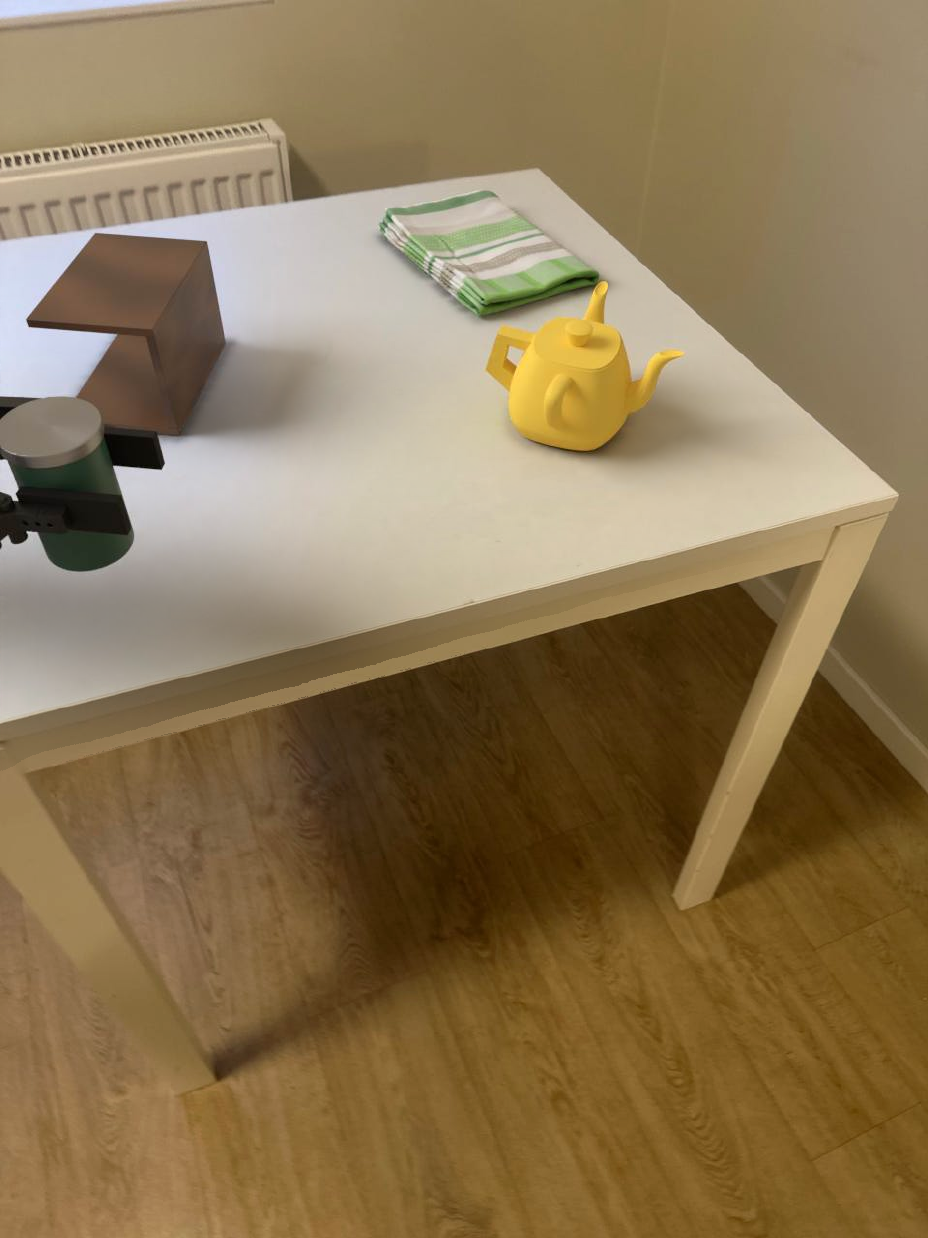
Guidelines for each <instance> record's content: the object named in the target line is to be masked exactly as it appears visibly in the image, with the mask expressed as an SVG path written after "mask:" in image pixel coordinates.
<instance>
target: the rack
mask: <svg viewBox="0 0 928 1238" xmlns="http://www.w3.org/2000/svg"><path fill="white" fill-rule="evenodd" d="M210 255H211V254H210V248H209V245H208V241H207V240H199V239H198V240H197V239H186V238H185V239H183V238H173V237H172V238H170V237H158V236H143V235H130V234H129V235H128V234H116V233H104V232H103V233H102V232H95V233H93V235H92V236H91V237H90V239H89V240H88V241H87V243H86V244H85V245H84V246H83V247H82V249H80V250H79V252H78V254H77V255H76V256H75V257H74V258H73V260H72V261H71V262H70V264H69V265H68V266H67V267H66V269H65V270H64V271H63V272H62V273H61V275H60V276H59V277H58V279H57V280H56V281H55V282H54V283H53V285H52V286H51V287H50V288H49V290H48V291H47V292H46V294H45V295H44V296H43V297H42V299H41V300H40V301H39V302H38V304H37V305H36V306H35V307H34V309H32V311H31V312H30V314H29V315H28V316H27V317H26V318H25V321H26V324H27V327H28V328H33V329H44V330H45V329H46V330H58V331H71V332H82V333H96V334H108V335H116V336H115V337H114V339H113V340H112V341H111V343H110V345H109V346H108V348H107V350H106V351H105V353H104V354H103V356H102V357H101V358H100V360H99V362H98V363H97V364H96V366H95V367H94V370H92V372H91V374H90V375H89V377H88V379H87V380H86V381H85V382H84V384H83V386H82V387H81V389H80V390H79V392H78V393H77V395H76V396H75V398H78V399H82V400H85V401H87V402H89V403H91V404H92V405H94V406H95V407H96V408H97V409H98V411H99V412H100V415H101V418H102V421H103V424H108V425H112V426H114V427H115V428H125V429H137V430H149V431H157V435H162V436H163V435H165V436H175V437H176V436H177V437H179V436H180V435H181V432H182V431H183V428H184V426H185V425H186V422H187V421H188V418H189V417H190V415H191V412H193V411H192V410H193V408H194V406H195V405H196V403H197V401H198V399H199V397H200V395H201V393H202V391H203V389H204V387H205V385H206V383H207V381H208V379H209V377H210V375H211V374H212V372H213V370H214V368H215V366H216V364H217V362H218V359H219V358H220V355H221V354H222V352H223V350H224V348H225V346H226V344H227V341H226V337H225V335H226V334H225V331H224V325H223V319H222V314H221V309H220V303H219V298H218V292H217V288H216V282H215V277H214V276H215V275H214V271H213V265H212V261H211V260H212V259H211V256H210Z"/></svg>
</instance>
